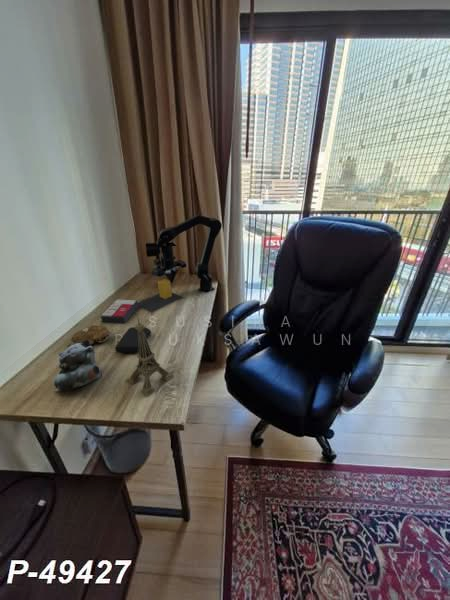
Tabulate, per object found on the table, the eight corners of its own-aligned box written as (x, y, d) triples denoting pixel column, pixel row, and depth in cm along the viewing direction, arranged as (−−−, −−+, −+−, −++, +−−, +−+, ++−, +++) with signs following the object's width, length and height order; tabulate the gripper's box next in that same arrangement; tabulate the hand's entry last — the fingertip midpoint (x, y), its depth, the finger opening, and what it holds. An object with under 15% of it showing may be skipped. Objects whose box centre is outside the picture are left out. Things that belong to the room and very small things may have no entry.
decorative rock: (118, 331, 107) (85, 331, 108) (116, 323, 105) (82, 323, 107) (104, 347, 97) (68, 347, 98) (102, 338, 95) (64, 338, 96)
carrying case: (141, 355, 93) (154, 332, 106) (140, 348, 91) (153, 326, 104) (114, 354, 93) (130, 331, 106) (112, 347, 92) (129, 325, 105)
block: (166, 294, 137) (164, 278, 133) (171, 296, 135) (169, 280, 130) (159, 296, 134) (157, 281, 130) (165, 299, 131) (163, 283, 127)
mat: (166, 291, 141) (166, 290, 141) (183, 297, 133) (183, 297, 133) (135, 304, 128) (135, 304, 127) (151, 313, 120) (151, 312, 120)
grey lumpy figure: (45, 394, 77) (36, 349, 77) (79, 380, 88) (72, 341, 88) (80, 391, 72) (72, 344, 72) (112, 377, 83) (104, 336, 83)
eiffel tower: (154, 362, 89) (141, 300, 77) (173, 376, 83) (163, 311, 71) (127, 380, 82) (109, 314, 70) (146, 396, 76) (130, 327, 64)
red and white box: (99, 315, 112) (116, 298, 125) (102, 323, 114) (118, 305, 127) (122, 316, 110) (137, 299, 123) (125, 324, 113) (138, 306, 125)
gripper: (171, 248, 138) (175, 274, 146) (143, 256, 126) (147, 284, 133) (185, 251, 132) (188, 279, 139) (156, 260, 119) (161, 290, 127)
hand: (171, 283), depth 135 cm, fingers closed
